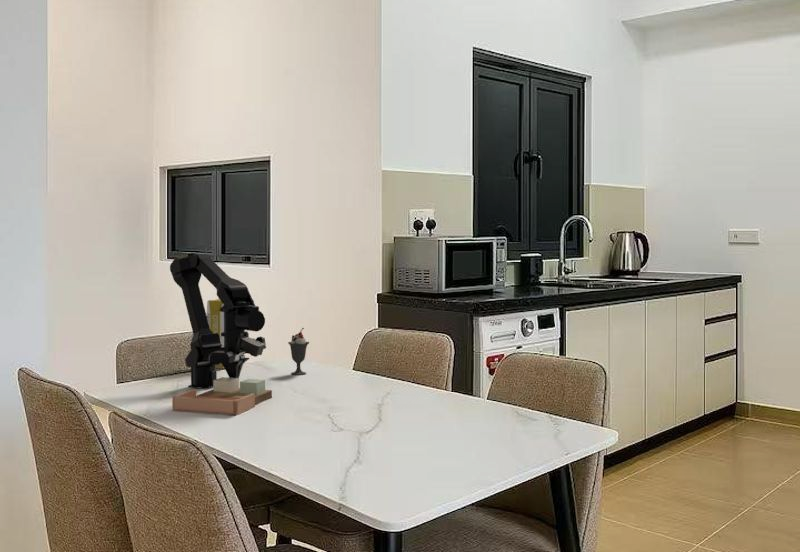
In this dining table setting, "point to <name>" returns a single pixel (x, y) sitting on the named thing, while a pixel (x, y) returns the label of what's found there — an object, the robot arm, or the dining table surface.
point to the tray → (212, 404)
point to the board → (238, 395)
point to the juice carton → (216, 321)
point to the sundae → (298, 351)
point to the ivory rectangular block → (226, 384)
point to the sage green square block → (252, 386)
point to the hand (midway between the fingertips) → (234, 383)
